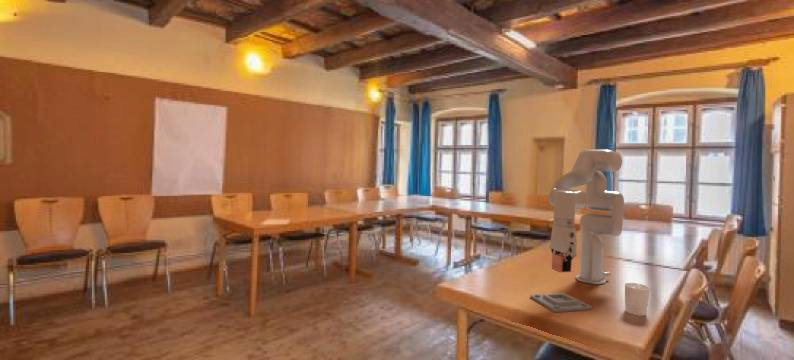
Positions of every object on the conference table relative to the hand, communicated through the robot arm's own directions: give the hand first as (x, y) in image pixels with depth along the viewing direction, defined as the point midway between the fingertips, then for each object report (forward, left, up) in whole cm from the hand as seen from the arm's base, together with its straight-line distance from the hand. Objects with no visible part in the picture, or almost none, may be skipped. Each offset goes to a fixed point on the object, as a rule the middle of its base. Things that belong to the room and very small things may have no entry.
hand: (561, 268), depth 154 cm
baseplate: (0, 0, -14) cm, 14 cm away
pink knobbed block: (0, 0, -1) cm, 1 cm away
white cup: (-22, +14, -14) cm, 30 cm away
